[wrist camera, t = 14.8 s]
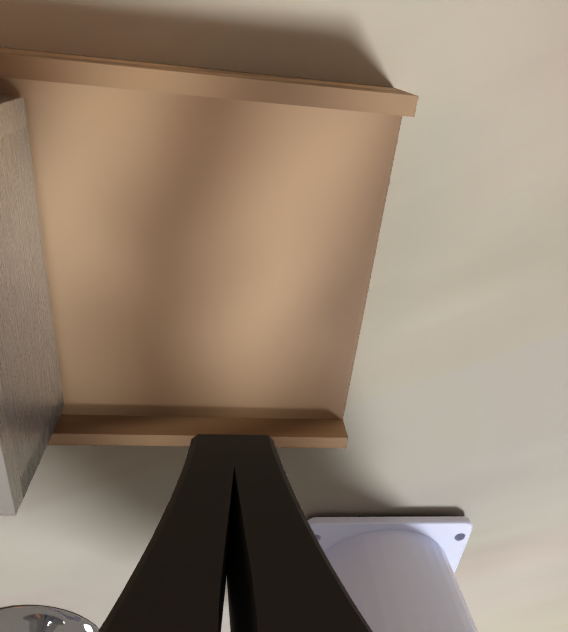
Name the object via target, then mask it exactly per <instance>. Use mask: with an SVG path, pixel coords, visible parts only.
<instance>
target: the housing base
mask: <svg viewBox="0 0 568 632" xmlns="http://www.w3.org/2000/svg"><path fill="white" fill-rule="evenodd" d="M0 95H10V96H20V97H24V104H25V112H26V119H27V127H28V135H29V142H30V150H31V158H32V165H33V173H34V180H35V188H36V196H37V203H38V211H39V219H40V226H41V234H42V242H43V249H44V257H45V264H46V272H47V280H48V287H49V295H50V303H51V310H52V318H53V326H54V333H55V341H56V348H57V356H58V364H59V371H60V379H61V387H62V394H63V402H64V408H63V411H62V413H61V415H60V417H59V420H58V422H57V424H56V426H55V429H54V431H53V433H52V435H51V438H50V440H49V442H48V444H47V445H113V446H190V443H191V439H192V438H193V437H195V436H196V435H197V434H230V435H269V436H270V437H271V438H272V439H273V440H274V444H275V447H282V448H346V445H347V440H348V436H347V433H346V430H345V426H344V423H343V416H344V411H345V405H346V400H347V395H348V390H349V385H350V380H351V375H352V370H353V365H354V359H355V354H356V349H357V344H358V339H359V334H360V329H361V324H362V319H363V313H364V308H365V303H366V298H367V293H368V288H369V283H370V278H371V273H372V267H373V262H374V257H375V252H376V247H377V242H378V237H379V232H380V227H381V221H382V216H383V211H384V206H385V201H386V196H387V191H388V186H389V181H390V175H391V170H392V165H393V160H394V155H395V150H396V145H397V140H398V135H399V130H400V124H401V119H402V116H411V117H414V115H415V110H416V105H417V100H418V96H416V95H413V94H410V93H408V92H405V91H402V90H399V89H396V88H389V87H380V86H370V85H360V84H351V83H341V82H331V81H322V80H312V79H302V78H292V77H283V76H273V75H263V74H254V73H244V72H234V71H225V70H215V69H205V68H195V67H186V66H176V65H166V64H157V63H147V62H137V61H127V60H118V59H108V58H98V57H89V56H79V55H69V54H60V53H50V52H40V51H30V50H21V49H11V48H1V47H0Z"/></svg>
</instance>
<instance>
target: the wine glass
mask: <svg viewBox="0 0 568 632" xmlns="http://www.w3.org/2000/svg"><path fill="white" fill-rule="evenodd" d="M98 631H99V629H98V628H97V627H96V626H95V625H94V624H92V623H91V622H90V621H88V620H87V619H85V618H83V617H81V616H79V615H77V614H74V613H71V612H68V611H65V610H61V609H57V608H52V607H44V606H14V607H8V608H3V609H0V632H98Z"/></svg>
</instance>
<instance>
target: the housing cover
mask: <svg viewBox="0 0 568 632" xmlns="http://www.w3.org/2000/svg"><path fill="white" fill-rule="evenodd" d="M63 408H64V402H63V394H62V387H61V379H60V371H59V364H58V356H57V348H56V341H55V333H54V326H53V318H52V310H51V303H50V295H49V287H48V280H47V272H46V264H45V257H44V249H43V242H42V234H41V226H40V219H39V211H38V203H37V196H36V188H35V180H34V173H33V165H32V158H31V150H30V142H29V135H28V127H27V119H26V112H25V104H24V97H20V96H10V95H0V516H16V514H17V512H18V509H19V507H20V505H21V503H22V500H23V498H24V496H25V494H26V491H27V489H28V487H29V485H30V483H31V480H32V478H33V476H34V474H35V471H36V469H37V467H38V465H39V462H40V460H41V458H42V456H43V453H44V451H45V449H46V447H47V444H48V442H49V440H50V438H51V435H52V433H53V431H54V429H55V426H56V424H57V422H58V420H59V417H60V415H61V413H62V411H63Z"/></svg>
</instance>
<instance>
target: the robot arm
mask: <svg viewBox="0 0 568 632" xmlns="http://www.w3.org/2000/svg"><path fill="white" fill-rule="evenodd" d="M472 527H473V526H472V524H471V522H470V520H469V518H467V517H463V516H437V517H314V518H311V519H309V520H308V521H307V519H306V517H305V515H304V513H303V511H302V509H301V507H300V505H299V503H298V501H297V499H296V497H295V494H294V492H293V490H292V488H291V485H290V483H289V481H288V479H287V476H286V474H285V471H284V469H283V466H282V464H281V461H280V459H279V456H278V453H277V450H276V447H275V444H274V440H273V439H272V438H271V437H270V436H269V435H230V434H197V435H196V436H195V437H193V438H192V439H191V443H190V447H189V451H188V455H187V458H186V461H185V464H184V467H183V470H182V472H181V475H180V478H179V480H178V482H177V485H176V487H175V490H174V492H173V494H172V497H171V499H170V501H169V503H168V505H167V507H166V509H165V512H164V514H163V516H162V518H161V520H160V522H159V524H158V526H157V528H156V530H155V532H154V535H153V537H152V539H151V540H150V542H149V544H148V546H147V548H146V550H145V552H144V554H143V555H142V557H141V559H140V561H139V563H138V564H137V566H136V568H135V570H134V572H133V573H132V575H131V577H130V579H129V581H128V582H127V584H126V586H125V588H124V590H123V591H122V593H121V595H120V597H119V598H118V600H117V602H116V603H115V605H114V607H113V608H112V610H111V612H110V613H109V615H108V617H107V618H106V620H105V621H104V623H103V625H102V626H101V628H100V629H99V631H98V632H221V624H222V614H223V605H224V595H225V585H226V575H227V587H228V601H229V615H230V629H231V632H478V631H477V628H476V626H475V624H474V621H473V619H472V616H471V614H470V611H469V609H468V607H467V604H466V602H465V599H464V597H463V594H462V592H461V590H460V587H459V585H458V582H457V580H456V577H455V575H454V573H455V571H456V568H457V566H458V563H459V561H460V558H461V556H462V553H463V551H464V548H465V546H466V543H467V541H468V538H469V536H470V533H471V531H472Z"/></svg>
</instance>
